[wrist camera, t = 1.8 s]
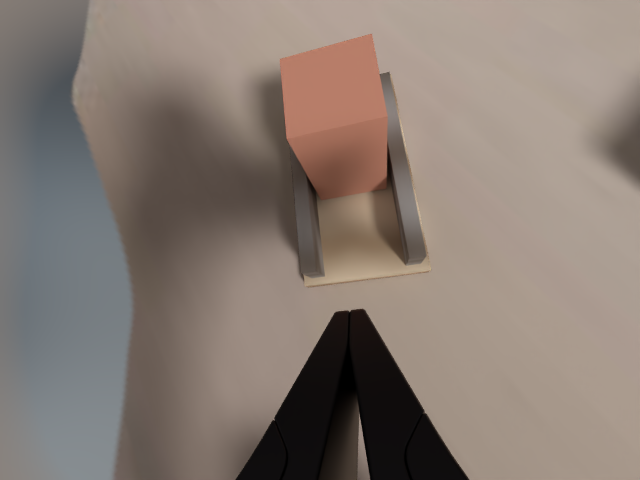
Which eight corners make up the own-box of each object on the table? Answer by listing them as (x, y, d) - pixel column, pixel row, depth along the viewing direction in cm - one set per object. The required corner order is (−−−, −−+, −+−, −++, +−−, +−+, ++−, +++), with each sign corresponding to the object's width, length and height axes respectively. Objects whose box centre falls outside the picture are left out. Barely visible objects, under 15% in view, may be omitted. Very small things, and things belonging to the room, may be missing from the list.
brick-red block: (386, 188, 22) (387, 116, 14) (321, 200, 23) (286, 138, 15) (376, 130, 23) (371, 33, 15) (315, 144, 24) (279, 59, 16)
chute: (428, 271, 21) (439, 262, 17) (308, 287, 23) (292, 282, 19) (390, 84, 25) (391, 42, 21) (291, 108, 27) (275, 73, 23)
